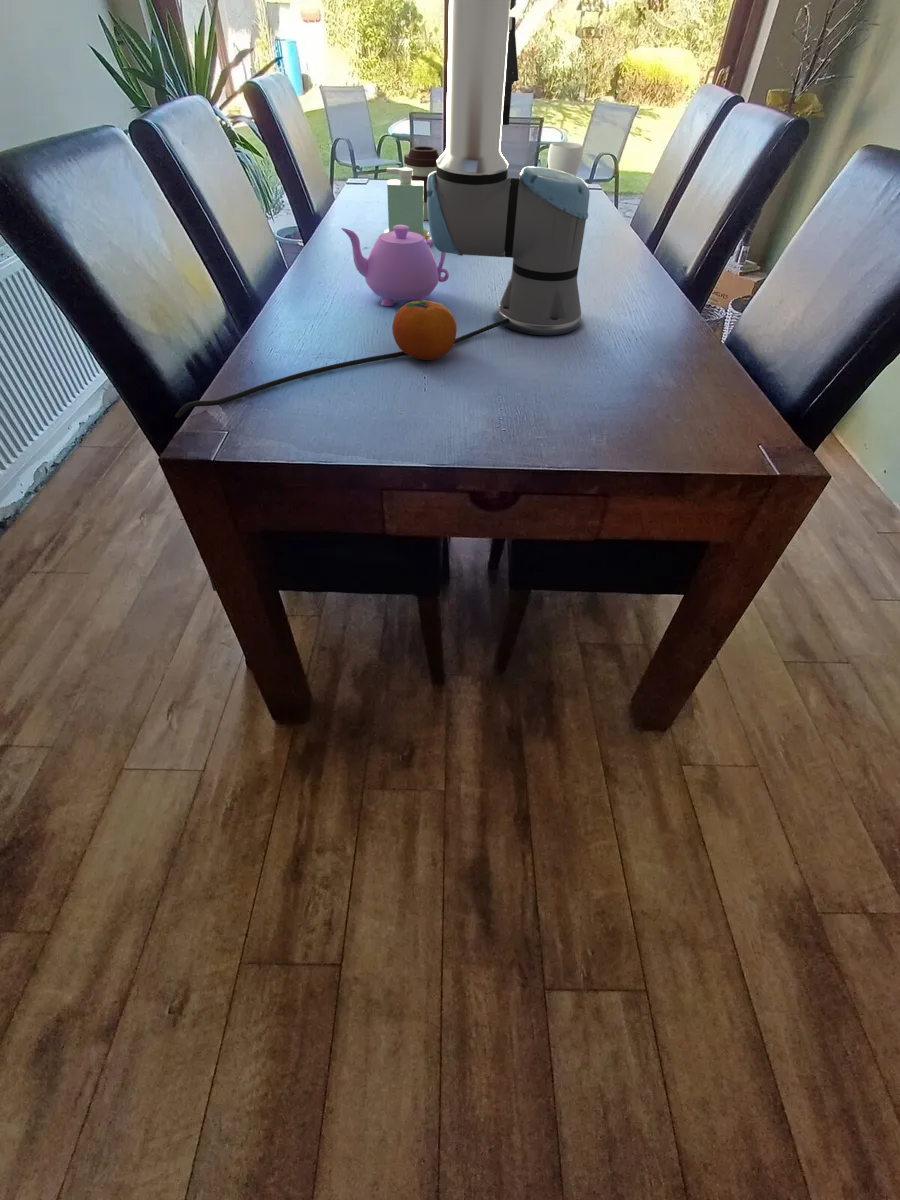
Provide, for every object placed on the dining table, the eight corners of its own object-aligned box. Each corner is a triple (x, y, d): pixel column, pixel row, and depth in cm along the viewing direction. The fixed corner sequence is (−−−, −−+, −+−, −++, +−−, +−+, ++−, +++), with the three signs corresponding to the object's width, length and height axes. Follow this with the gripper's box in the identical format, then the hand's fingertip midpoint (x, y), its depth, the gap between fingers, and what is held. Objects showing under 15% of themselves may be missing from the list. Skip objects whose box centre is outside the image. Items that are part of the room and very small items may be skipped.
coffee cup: (449, 216, 169) (451, 148, 158) (428, 224, 163) (429, 154, 152) (418, 210, 172) (418, 143, 162) (397, 217, 166) (396, 148, 156)
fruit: (468, 356, 105) (471, 307, 100) (422, 374, 100) (423, 322, 94) (425, 337, 110) (425, 288, 105) (379, 352, 105) (377, 302, 100)
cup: (547, 221, 169) (556, 148, 158) (536, 212, 175) (544, 141, 164) (578, 220, 170) (589, 148, 159) (566, 211, 177) (576, 141, 165)
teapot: (346, 311, 118) (340, 237, 109) (346, 285, 128) (341, 215, 119) (452, 310, 120) (454, 237, 111) (444, 285, 130) (446, 216, 121)
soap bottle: (428, 243, 145) (428, 174, 136) (383, 242, 145) (380, 173, 136) (428, 230, 153) (429, 165, 144) (385, 229, 153) (383, 163, 143)
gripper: (544, -18, 113) (530, 129, 128) (490, -20, 129) (483, 110, 144) (506, -20, 111) (496, 129, 126) (456, -21, 127) (452, 110, 142)
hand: (489, 119), depth 135 cm, fingers open, 13 cm apart
